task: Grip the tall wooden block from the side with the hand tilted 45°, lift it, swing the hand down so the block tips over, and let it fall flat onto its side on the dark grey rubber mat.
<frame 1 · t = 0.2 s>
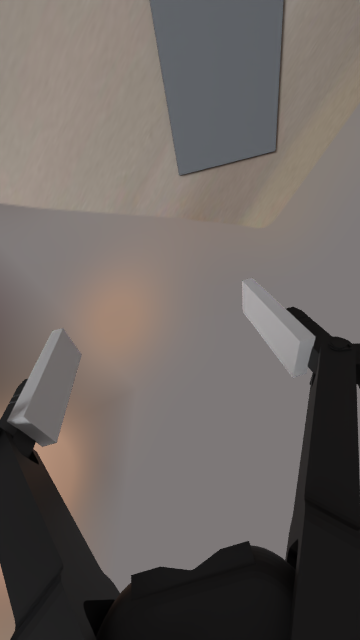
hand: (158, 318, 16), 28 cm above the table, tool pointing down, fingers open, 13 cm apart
mat: (220, 50, 27), on the table
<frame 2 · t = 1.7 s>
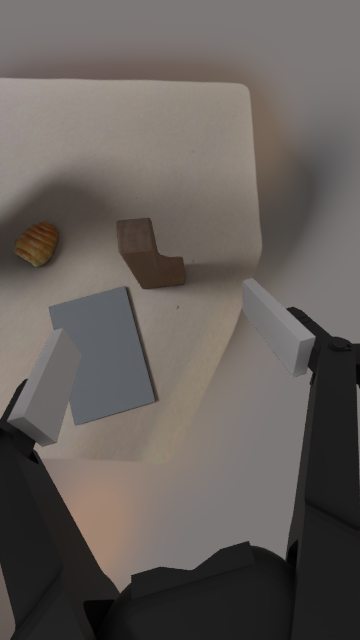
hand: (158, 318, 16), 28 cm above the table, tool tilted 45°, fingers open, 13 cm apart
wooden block: (162, 277, 45), on the table
mat: (101, 353, 43), on the table
pastry: (40, 248, 46), on the table
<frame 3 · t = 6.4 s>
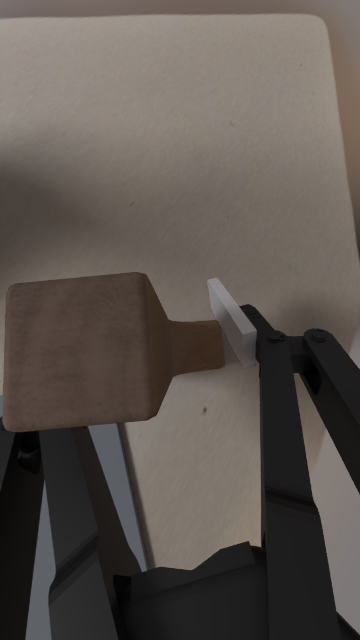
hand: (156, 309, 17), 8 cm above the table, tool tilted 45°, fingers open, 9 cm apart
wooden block: (176, 348, 24), on the table, touching gripper
mat: (55, 501, 22), on the table
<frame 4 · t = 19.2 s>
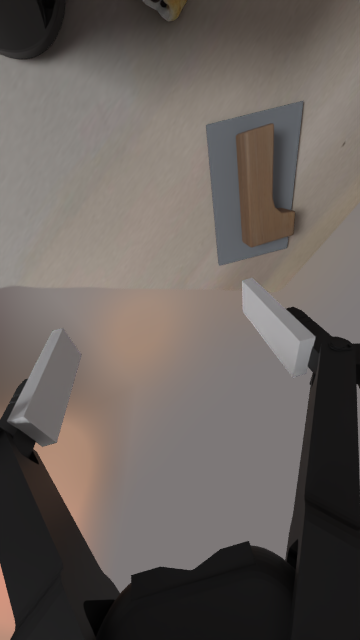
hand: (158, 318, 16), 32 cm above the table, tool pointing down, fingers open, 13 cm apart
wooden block: (266, 239, 44), point 3 cm above the table, touching mat
mat: (252, 197, 41), on the table
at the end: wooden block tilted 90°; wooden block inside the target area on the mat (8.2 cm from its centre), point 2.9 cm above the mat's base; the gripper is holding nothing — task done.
